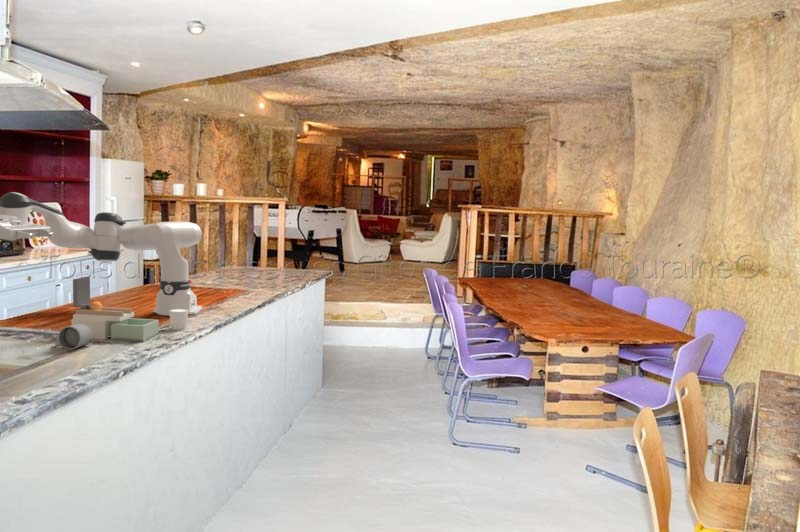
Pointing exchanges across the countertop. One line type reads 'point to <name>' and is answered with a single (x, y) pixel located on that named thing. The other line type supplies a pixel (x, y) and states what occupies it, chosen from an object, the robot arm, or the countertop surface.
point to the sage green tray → (134, 329)
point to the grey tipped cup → (74, 336)
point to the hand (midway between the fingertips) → (41, 235)
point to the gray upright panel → (81, 293)
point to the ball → (96, 306)
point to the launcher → (101, 320)
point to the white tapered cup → (178, 319)
